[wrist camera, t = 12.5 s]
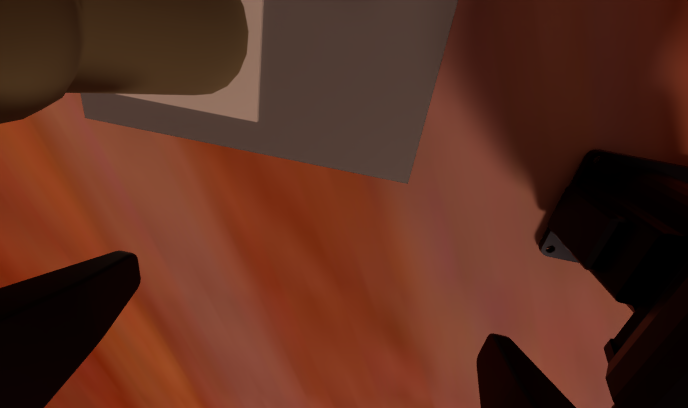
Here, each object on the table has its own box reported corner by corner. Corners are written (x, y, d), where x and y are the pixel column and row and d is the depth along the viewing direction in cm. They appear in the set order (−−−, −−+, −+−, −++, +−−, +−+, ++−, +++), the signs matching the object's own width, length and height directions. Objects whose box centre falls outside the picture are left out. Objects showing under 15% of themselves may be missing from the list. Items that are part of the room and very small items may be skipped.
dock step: (469, -67, 14) (482, -87, 12) (406, 171, 19) (408, 185, 17) (76, -132, 15) (27, -160, 13) (113, 111, 20) (82, 118, 18)
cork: (97, 4, 15) (-466, -85, 5) (185, -92, 13) (-462, -538, 3) (185, 118, 17) (-108, 213, 7) (274, 49, 15) (41, 46, 5)
